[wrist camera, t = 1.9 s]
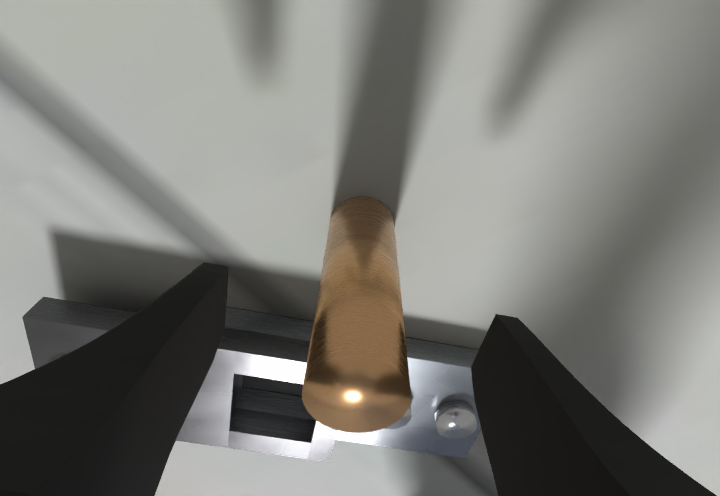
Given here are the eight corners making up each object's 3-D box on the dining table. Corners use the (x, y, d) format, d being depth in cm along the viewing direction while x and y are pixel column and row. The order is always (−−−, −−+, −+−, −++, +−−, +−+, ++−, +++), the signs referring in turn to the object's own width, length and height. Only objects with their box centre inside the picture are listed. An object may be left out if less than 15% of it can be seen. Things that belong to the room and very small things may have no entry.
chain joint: (503, 353, 20) (522, 409, 17) (460, 437, 23) (471, 494, 20) (61, 279, 18) (11, 328, 15) (79, 379, 21) (39, 434, 19)
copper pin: (400, 203, 16) (424, 368, 9) (385, 258, 17) (396, 439, 10) (336, 190, 16) (310, 349, 9) (325, 247, 17) (295, 424, 10)
